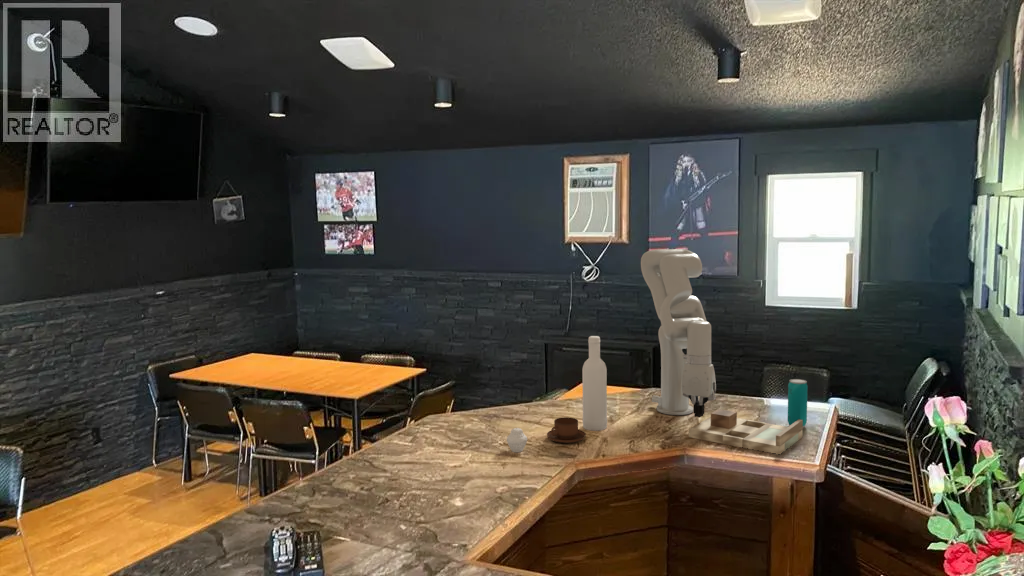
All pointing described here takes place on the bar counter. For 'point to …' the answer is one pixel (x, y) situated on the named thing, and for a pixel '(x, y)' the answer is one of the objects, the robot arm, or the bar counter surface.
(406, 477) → the bar counter surface
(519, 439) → the grey lidded jar
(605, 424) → the bottle
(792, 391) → the beverage can
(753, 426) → the trap board
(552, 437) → the cup and saucer
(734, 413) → the walnut block
